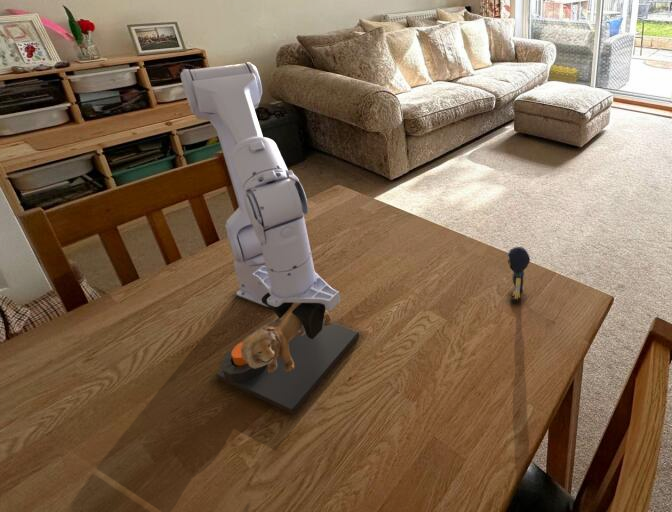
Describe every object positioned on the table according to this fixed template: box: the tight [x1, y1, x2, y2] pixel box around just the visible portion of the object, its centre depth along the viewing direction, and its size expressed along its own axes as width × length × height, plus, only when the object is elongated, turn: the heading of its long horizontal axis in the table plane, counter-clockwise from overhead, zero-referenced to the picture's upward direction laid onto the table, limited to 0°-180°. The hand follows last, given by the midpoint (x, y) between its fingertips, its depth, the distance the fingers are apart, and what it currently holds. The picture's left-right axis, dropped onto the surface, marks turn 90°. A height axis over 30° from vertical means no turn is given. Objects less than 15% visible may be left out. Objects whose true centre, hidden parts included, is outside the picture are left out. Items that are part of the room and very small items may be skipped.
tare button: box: [231, 341, 247, 366], centre depth 62 cm, size 3×3×2 cm
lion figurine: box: [240, 303, 333, 373], centre depth 59 cm, size 15×5×9 cm, turn 172°
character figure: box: [507, 246, 531, 304], centre depth 76 cm, size 9×4×12 cm, turn 178°
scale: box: [215, 317, 360, 415], centre depth 65 cm, size 15×14×3 cm
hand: (304, 329), depth 62 cm, fingers closed on lion figurine, 4 cm apart
